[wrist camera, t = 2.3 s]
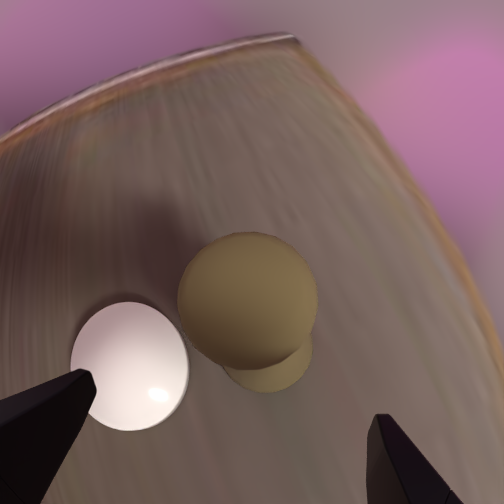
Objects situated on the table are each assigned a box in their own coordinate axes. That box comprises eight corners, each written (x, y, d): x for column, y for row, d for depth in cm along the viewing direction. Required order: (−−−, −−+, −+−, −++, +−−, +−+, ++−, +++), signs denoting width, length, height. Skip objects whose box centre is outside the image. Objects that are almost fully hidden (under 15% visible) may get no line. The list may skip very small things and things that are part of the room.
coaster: (128, 454, 17) (122, 456, 17) (60, 361, 21) (52, 359, 20) (217, 368, 20) (214, 366, 19) (135, 282, 23) (129, 277, 22)
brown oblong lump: (214, 310, 22) (152, 223, 12) (302, 294, 22) (310, 192, 12) (225, 399, 19) (159, 387, 9) (321, 382, 19) (355, 355, 9)
